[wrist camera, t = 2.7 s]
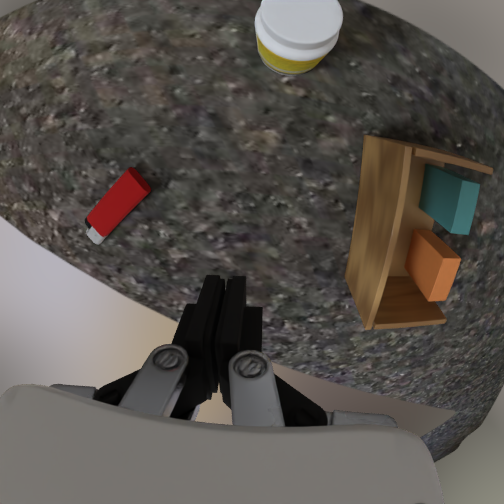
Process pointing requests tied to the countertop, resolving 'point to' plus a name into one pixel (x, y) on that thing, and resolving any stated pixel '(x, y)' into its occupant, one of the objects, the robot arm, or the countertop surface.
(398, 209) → the wooden crate
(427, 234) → the block
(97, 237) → the lighter
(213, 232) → the countertop surface
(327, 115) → the countertop surface
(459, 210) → the block
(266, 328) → the countertop surface
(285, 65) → the supplement bottle
